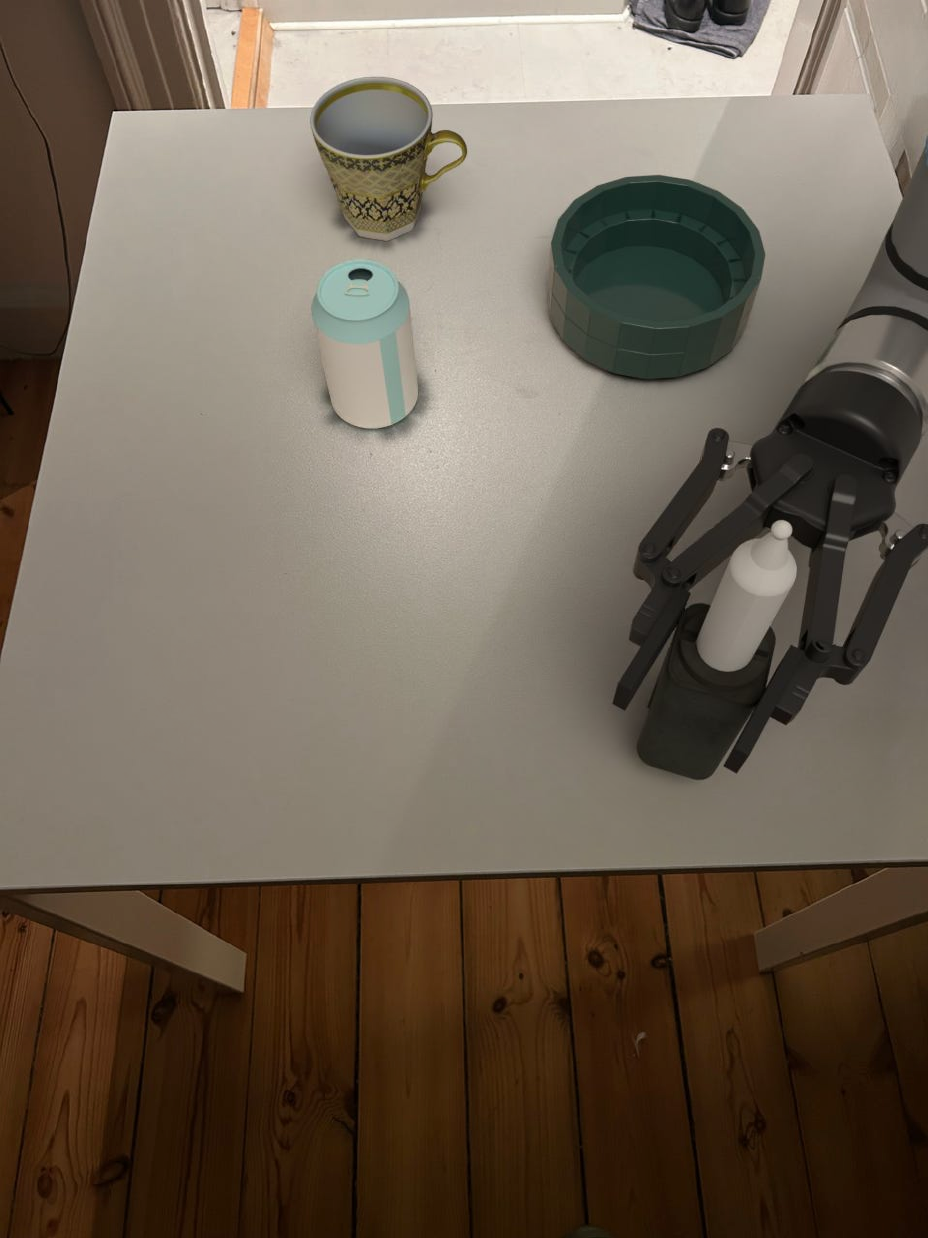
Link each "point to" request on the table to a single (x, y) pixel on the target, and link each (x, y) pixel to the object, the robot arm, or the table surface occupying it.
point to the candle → (718, 661)
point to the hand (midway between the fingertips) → (678, 728)
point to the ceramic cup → (378, 152)
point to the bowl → (653, 275)
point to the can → (366, 343)
